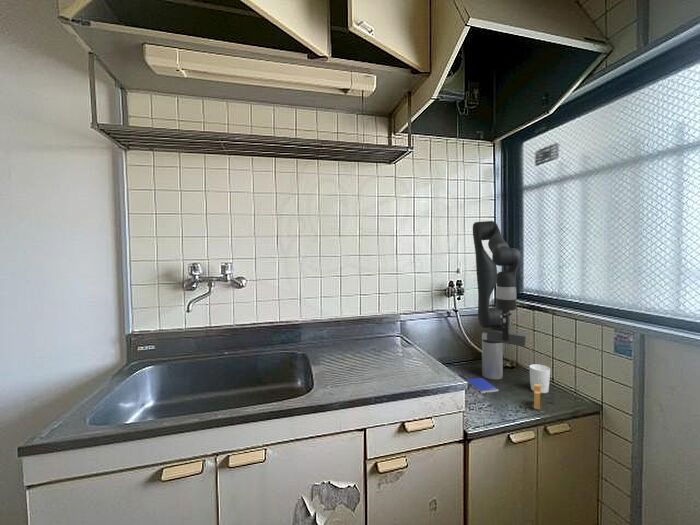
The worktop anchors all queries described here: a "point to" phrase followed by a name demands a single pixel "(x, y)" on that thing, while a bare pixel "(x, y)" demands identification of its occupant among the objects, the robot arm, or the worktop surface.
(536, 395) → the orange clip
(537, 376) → the white cup
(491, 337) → the gray rectangular block
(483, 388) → the hard drive
